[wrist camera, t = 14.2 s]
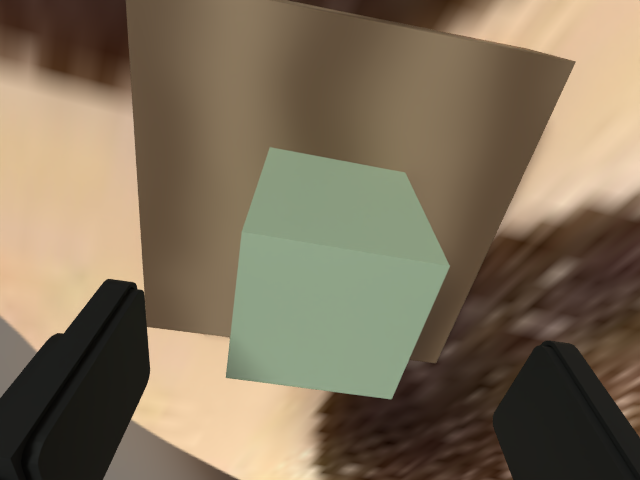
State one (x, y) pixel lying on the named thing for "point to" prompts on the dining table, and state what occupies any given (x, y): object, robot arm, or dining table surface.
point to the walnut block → (318, 134)
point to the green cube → (332, 277)
